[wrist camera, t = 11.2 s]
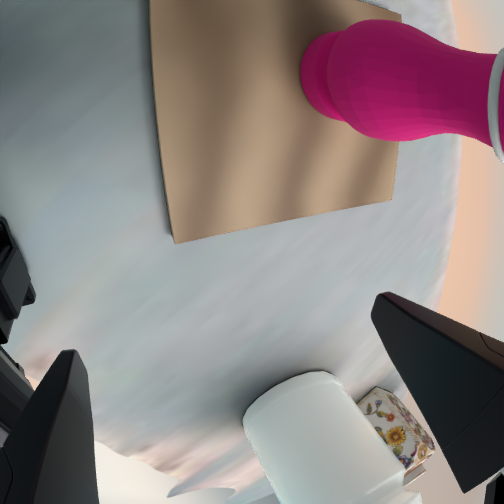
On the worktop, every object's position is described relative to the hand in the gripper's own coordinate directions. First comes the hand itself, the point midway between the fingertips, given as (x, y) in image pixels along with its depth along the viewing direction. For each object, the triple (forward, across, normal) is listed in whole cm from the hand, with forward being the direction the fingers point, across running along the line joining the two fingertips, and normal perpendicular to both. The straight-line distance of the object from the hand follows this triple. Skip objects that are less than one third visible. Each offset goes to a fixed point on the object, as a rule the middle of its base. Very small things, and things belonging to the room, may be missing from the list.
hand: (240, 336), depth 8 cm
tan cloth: (+14, -8, -5) cm, 16 cm away
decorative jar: (+14, -28, +44) cm, 54 cm away
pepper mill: (+13, -10, -7) cm, 18 cm away
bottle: (+14, -11, +30) cm, 34 cm away
